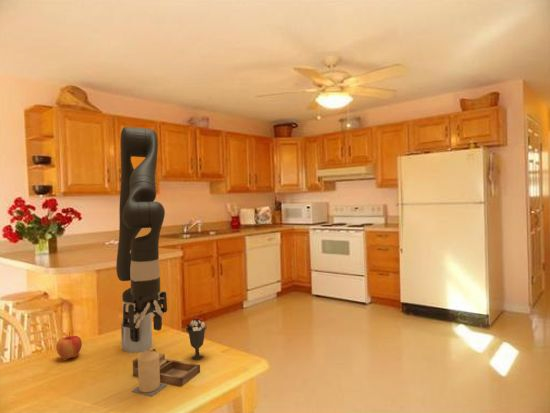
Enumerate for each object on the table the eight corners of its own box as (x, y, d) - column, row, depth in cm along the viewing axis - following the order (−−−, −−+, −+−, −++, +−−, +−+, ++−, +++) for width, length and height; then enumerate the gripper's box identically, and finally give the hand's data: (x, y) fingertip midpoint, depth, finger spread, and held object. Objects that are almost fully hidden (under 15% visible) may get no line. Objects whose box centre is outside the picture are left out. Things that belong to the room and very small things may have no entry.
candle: (164, 384, 105) (163, 348, 105) (151, 394, 100) (150, 356, 100) (147, 381, 107) (146, 346, 107) (134, 391, 102) (133, 354, 101)
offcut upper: (143, 366, 111) (143, 360, 111) (153, 358, 116) (153, 353, 116) (155, 367, 110) (155, 361, 110) (164, 360, 115) (164, 354, 115)
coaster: (131, 393, 102) (131, 390, 102) (147, 382, 107) (147, 380, 107) (152, 397, 99) (152, 395, 99) (167, 387, 105) (167, 384, 105)
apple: (55, 364, 120) (54, 339, 120) (58, 355, 127) (57, 332, 126) (81, 360, 123) (80, 335, 123) (82, 351, 130) (81, 328, 129)
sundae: (210, 354, 125) (209, 309, 125) (204, 363, 119) (203, 316, 118) (190, 354, 126) (189, 309, 125) (184, 363, 119) (182, 315, 119)
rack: (133, 377, 111) (132, 360, 110) (154, 364, 119) (153, 348, 119) (181, 387, 104) (180, 369, 104) (200, 373, 112) (199, 356, 112)
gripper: (152, 269, 110) (153, 324, 111) (114, 280, 97) (115, 343, 98) (173, 271, 107) (174, 328, 108) (137, 283, 94) (138, 348, 95)
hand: (146, 335), depth 103 cm, fingers open, 8 cm apart
